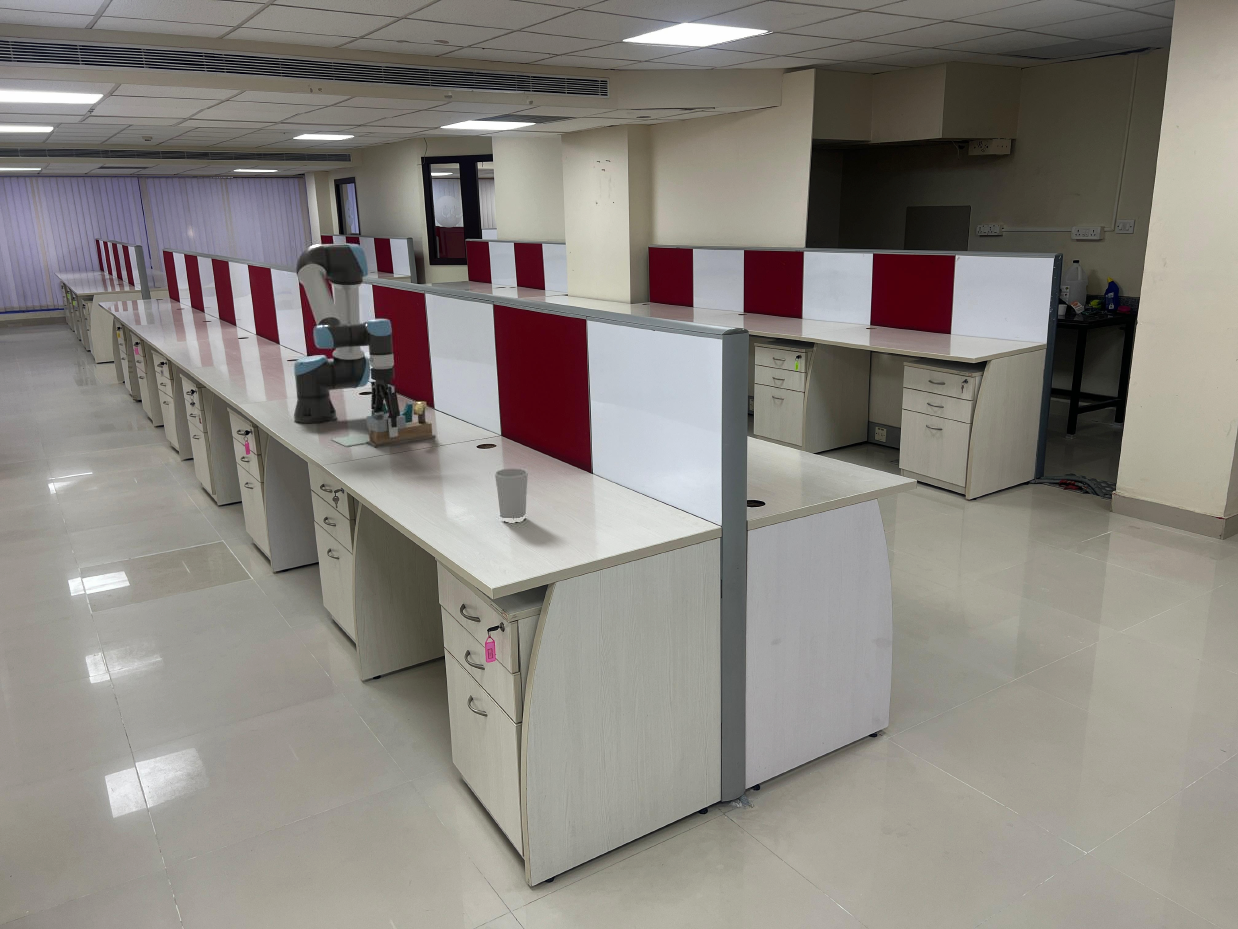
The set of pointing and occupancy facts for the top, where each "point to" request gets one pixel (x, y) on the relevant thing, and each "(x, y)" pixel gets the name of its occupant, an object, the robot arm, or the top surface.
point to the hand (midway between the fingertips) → (387, 434)
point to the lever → (419, 408)
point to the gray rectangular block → (383, 422)
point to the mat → (352, 440)
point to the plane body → (403, 433)
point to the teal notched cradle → (406, 412)
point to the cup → (512, 492)
